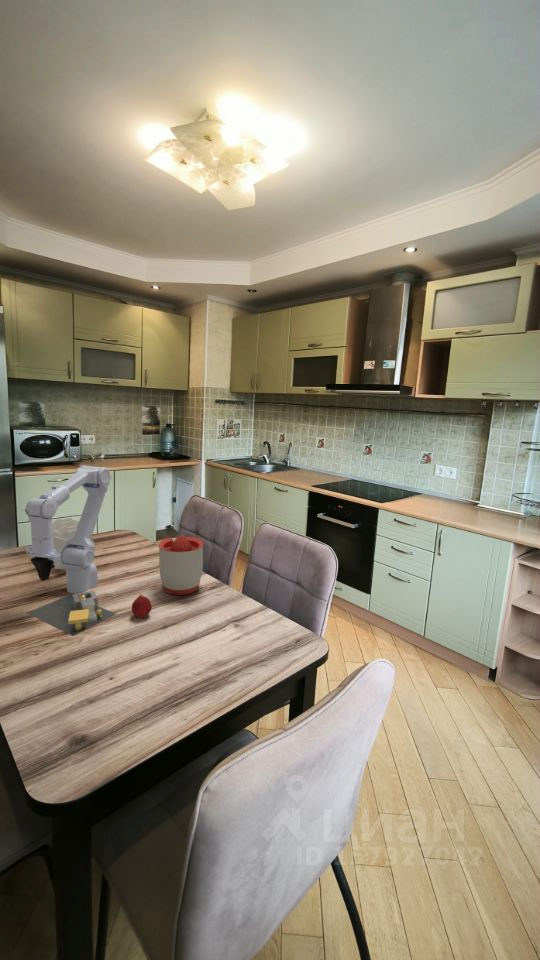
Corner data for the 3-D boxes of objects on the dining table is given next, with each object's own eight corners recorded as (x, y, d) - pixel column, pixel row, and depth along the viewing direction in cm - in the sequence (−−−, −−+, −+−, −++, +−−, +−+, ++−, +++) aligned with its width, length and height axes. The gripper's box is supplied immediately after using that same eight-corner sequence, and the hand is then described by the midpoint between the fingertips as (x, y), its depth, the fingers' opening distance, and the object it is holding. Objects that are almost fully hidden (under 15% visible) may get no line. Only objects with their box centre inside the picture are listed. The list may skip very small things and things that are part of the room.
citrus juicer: (199, 576, 160) (199, 526, 156) (206, 595, 143) (207, 540, 140) (157, 579, 155) (156, 528, 151) (160, 600, 139) (159, 543, 135)
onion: (155, 616, 128) (155, 592, 127) (142, 624, 123) (142, 599, 122) (141, 611, 131) (140, 588, 129) (127, 620, 126) (127, 595, 124)
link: (73, 603, 133) (72, 593, 132) (94, 599, 136) (94, 589, 136) (79, 625, 120) (79, 614, 120) (103, 619, 124) (102, 609, 123)
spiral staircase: (74, 561, 180) (86, 579, 159) (31, 550, 170) (38, 568, 149) (92, 522, 182) (106, 534, 162) (50, 508, 172) (59, 520, 151)
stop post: (99, 615, 126) (99, 608, 126) (103, 616, 126) (103, 609, 125) (95, 617, 125) (95, 610, 125) (98, 618, 124) (98, 612, 124)
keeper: (70, 621, 122) (70, 611, 122) (89, 618, 124) (88, 609, 123) (68, 631, 117) (68, 621, 116) (87, 629, 118) (87, 618, 118)
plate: (70, 596, 139) (70, 594, 139) (117, 616, 127) (116, 614, 127) (26, 615, 126) (25, 612, 126) (73, 638, 115) (73, 635, 115)
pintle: (83, 603, 133) (83, 593, 132) (87, 605, 132) (87, 595, 131) (77, 606, 131) (77, 595, 131) (81, 607, 130) (81, 597, 130)
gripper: (15, 536, 126) (17, 578, 128) (44, 545, 119) (46, 589, 121) (37, 530, 132) (39, 571, 134) (66, 539, 125) (68, 581, 127)
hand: (44, 579), depth 128 cm, fingers closed
